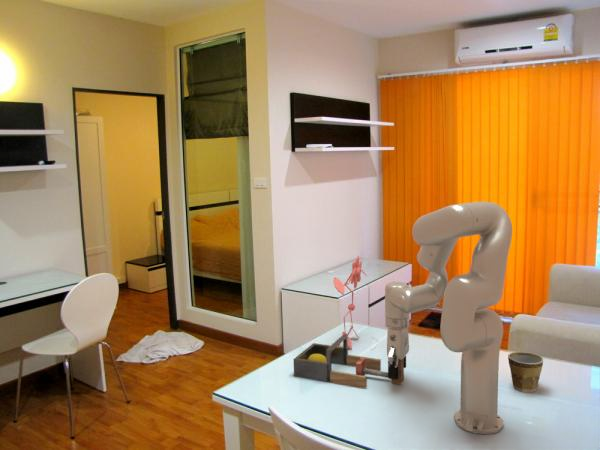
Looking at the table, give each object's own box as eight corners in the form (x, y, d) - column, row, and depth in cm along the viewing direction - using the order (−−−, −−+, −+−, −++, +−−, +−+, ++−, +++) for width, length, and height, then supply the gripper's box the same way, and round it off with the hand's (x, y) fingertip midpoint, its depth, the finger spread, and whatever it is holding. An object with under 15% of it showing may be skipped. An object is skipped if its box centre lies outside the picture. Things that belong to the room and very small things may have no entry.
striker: (400, 385, 166) (400, 358, 165) (355, 378, 172) (355, 352, 171) (404, 379, 171) (404, 352, 170) (361, 372, 177) (361, 346, 176)
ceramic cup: (546, 396, 156) (547, 364, 155) (510, 394, 159) (511, 362, 157) (535, 378, 169) (536, 348, 168) (503, 376, 171) (503, 347, 170)
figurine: (328, 353, 195) (328, 261, 190) (349, 332, 219) (350, 249, 214) (368, 360, 189) (369, 264, 185) (385, 337, 213) (387, 252, 208)
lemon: (332, 355, 182) (310, 352, 185) (326, 355, 177) (304, 352, 180) (330, 371, 181) (309, 368, 184) (324, 372, 176) (303, 368, 179)
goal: (330, 382, 170) (329, 350, 169) (293, 376, 176) (293, 344, 175) (347, 364, 185) (347, 334, 184) (313, 359, 191) (313, 329, 189)
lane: (365, 388, 165) (365, 377, 165) (330, 382, 170) (330, 371, 170) (380, 369, 180) (380, 359, 179) (347, 364, 185) (347, 354, 184)
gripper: (401, 330, 157) (401, 385, 159) (415, 314, 173) (415, 364, 175) (377, 328, 160) (378, 381, 162) (393, 312, 176) (393, 361, 178)
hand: (397, 372), depth 169 cm, fingers open, 9 cm apart
